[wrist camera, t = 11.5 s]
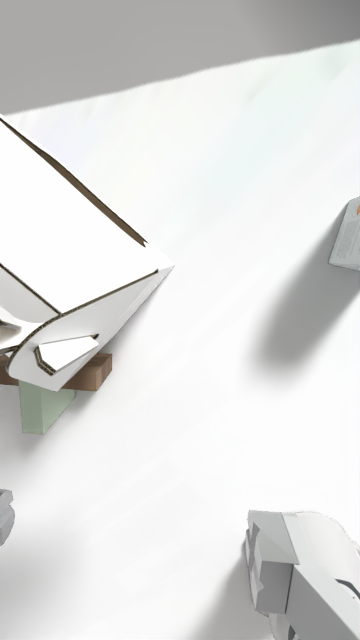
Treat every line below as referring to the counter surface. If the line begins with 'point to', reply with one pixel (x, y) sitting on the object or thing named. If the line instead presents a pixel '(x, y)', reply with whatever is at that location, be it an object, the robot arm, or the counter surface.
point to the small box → (348, 239)
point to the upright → (82, 380)
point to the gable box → (63, 265)
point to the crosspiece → (41, 406)
